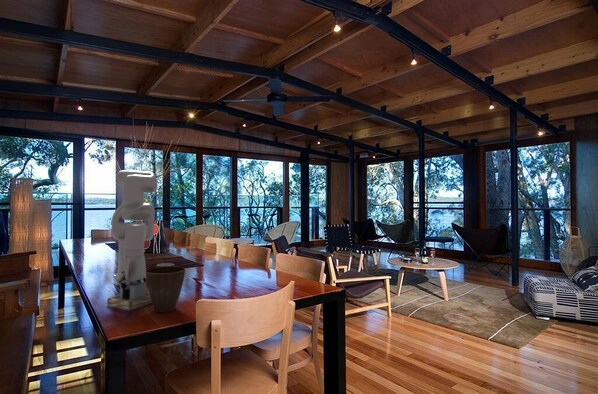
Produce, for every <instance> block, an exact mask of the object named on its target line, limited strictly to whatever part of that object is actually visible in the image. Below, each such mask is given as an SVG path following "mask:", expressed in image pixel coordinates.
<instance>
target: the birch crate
mask: <svg viewBox="0 0 598 394" xmlns="http://www.w3.org/2000/svg"><path fill="white" fill-rule="evenodd" d="M119 297H120V294H117V295H115V296H110V297H107V302H106V306H107V307H106V308H112V309H117V310H122V311H127V312H131V311H134V310H137V309H139V308H144V307H147V306H149V305H151V304H152V301H151V297H150V294H149V292H146V297H143V298H140V299H137V300H134V301H132V300H126V299H120V298H119ZM152 305H153V304H152Z"/></svg>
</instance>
